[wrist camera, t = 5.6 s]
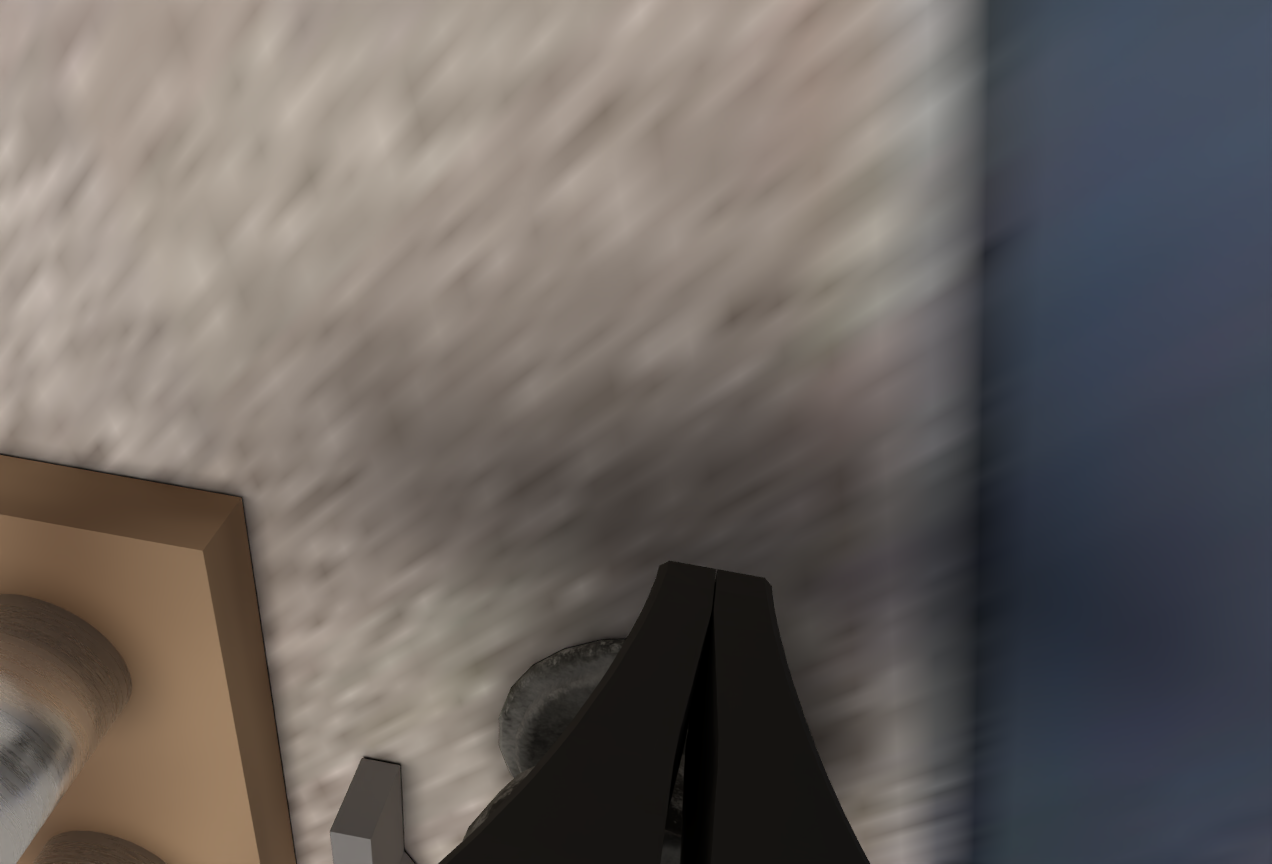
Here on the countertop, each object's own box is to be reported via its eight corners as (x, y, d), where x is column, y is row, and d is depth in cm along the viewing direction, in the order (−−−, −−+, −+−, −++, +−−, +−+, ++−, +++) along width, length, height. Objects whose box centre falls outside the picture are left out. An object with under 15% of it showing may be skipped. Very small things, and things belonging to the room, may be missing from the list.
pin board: (241, 497, 16) (79, 720, 12) (305, 932, 23) (213, 1151, 19) (-140, 430, 16) (-401, 628, 13) (39, 878, 23) (-98, 1083, 20)
